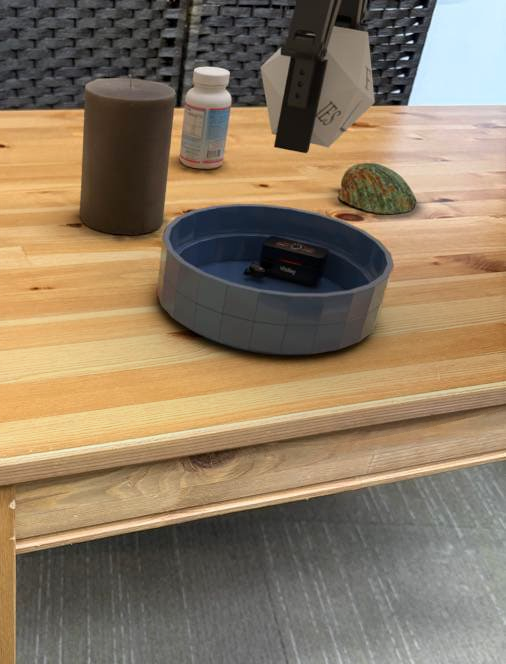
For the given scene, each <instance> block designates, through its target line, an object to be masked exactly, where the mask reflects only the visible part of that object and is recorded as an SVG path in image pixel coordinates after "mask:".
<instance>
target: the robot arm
mask: <svg viewBox="0 0 506 664" xmlns="http://www.w3.org/2000/svg"><path fill="white" fill-rule="evenodd" d="M367 5H368V0H295V4H294V8H293V13H292V14H293V15H292V17H291V22H290V25H289V30H288V33H287V34H288V35H287V37H286V39H285V42H282V43H281V46H280V48H281V55H282V56H289V57H291V58H290V63H289V69H288V74H287V80H286V85H285V90H284V96H283V101H282V106H281V112H280V117H279V122H278V128H277V133H276V135H275V139H274V145H273V148H277V149H280V150H286V151H292V152H297V153H302V154H307V153H309V151H310V145H311V143H310V142H311V137H312V132H313V128H314V123H315V118H316V114H317V109H318V104H319V100H320V95H321V90H322V86H323V81H324V76H325V71H326V67H327V62H328V60H325V59H324V57H326V54H327V47H328V44H329V40H330V37H331V34H332V30H333V27H334V26H336V27H342V28H347V29H353V30H359V31H364V32H368V27H369V23H366V22H364V21H365V19H366V16H367ZM308 34H315V35H308Z"/></svg>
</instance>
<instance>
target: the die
mask: <svg viewBox="0 0 506 664" xmlns="http://www.w3.org/2000/svg"><path fill="white" fill-rule="evenodd" d="M308 35H315V34H308ZM369 39H370V38H369V32H368V31H367V32H364V31H359V30H353V29H347V28H342V27H336V26H334V27H333V30H332V34H331V37H330V40H329V44H328V47H327V54H326V57H324V59H325V60H328V62H327V67H326V71H325V76H324V81H323V86H322V90H321V95H320V100H319V104H318V109H317V114H316V118H315V123H314V128H313V132H312V137H311V142H310V144H312V145H316V146H319V147H320V146H321V147H324V148H330V147H331V146H332V145H333V144H334V143H335V142H336V141H337V140H339V138H340V137H341V136H342V135H343V134H344V132H346V131H348V129H350V127H351V126H352V125H353V124H354V123H356V122H357V120H359V118H361V117H362V116H363V115H364V114H365V113H366V112H367V111H368V110H369V109H370V108H371V107H372V106H374V104H375V103H376V102H375V92H374V82H373V70H372V60H371V49H370V40H369ZM290 58H291V57H289V56H282V55H281V47H279V48H278V49H277V50H276V51H275V52H274V53H273V54H272V55H271V56H270V58H267V60H266V61H265V62H264V63H263V64H262V65H261V66H260V68H259V69H260V73H261V79H262V85H263V90H264V95H265V96H264V97H265V101H266V102H265V103H266V108H267V112H268V113H267V114H268V119H269V125H270V131H271V132H270V133H271V134H272V135H275V136H276V133H277V128H278V122H279V117H280V112H281V106H282V101H283V96H284V90H285V85H286V80H287V74H288V69H289V63H290Z"/></svg>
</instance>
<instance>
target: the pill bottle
mask: <svg viewBox="0 0 506 664" xmlns="http://www.w3.org/2000/svg"><path fill="white" fill-rule="evenodd" d="M230 75H231V73H230V71H229V70H228V69H226V68H222V67H217V66H199V67H195V68H194V69H193V75H192V84H193V87H191V88H189V90H188V91H187V92H186V94H185V99H184V109H183V116H182V117H183V119H182V129H181V139H180V148H179V161H180V162H181V163H182V164H183V165H184V166H186V167H189V168H193V169H197V170H199V169H200V170H210V169H211V170H212V169H216V168H219V167H221V166H222V165H223V163H224V160H225V159H224V158H225V152H226V145H227V136H228V129H229V122H230V115H231V109H232V108H231V107H232V95H231V93H230V92H229V91H228V90H227V89H226V88H227V86H229V83H230Z"/></svg>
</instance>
